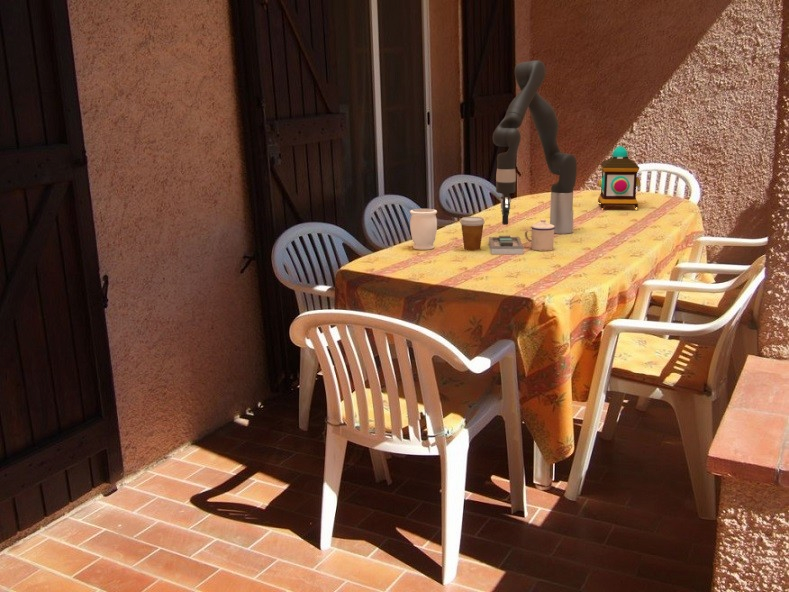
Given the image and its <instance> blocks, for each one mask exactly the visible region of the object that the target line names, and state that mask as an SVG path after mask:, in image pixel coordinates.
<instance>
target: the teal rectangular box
mask: <svg viewBox="0 0 789 592" xmlns="http://www.w3.org/2000/svg"><path fill="white" fill-rule="evenodd" d="M501 241H512V239H511V238H500V244H501Z"/></svg>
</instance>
